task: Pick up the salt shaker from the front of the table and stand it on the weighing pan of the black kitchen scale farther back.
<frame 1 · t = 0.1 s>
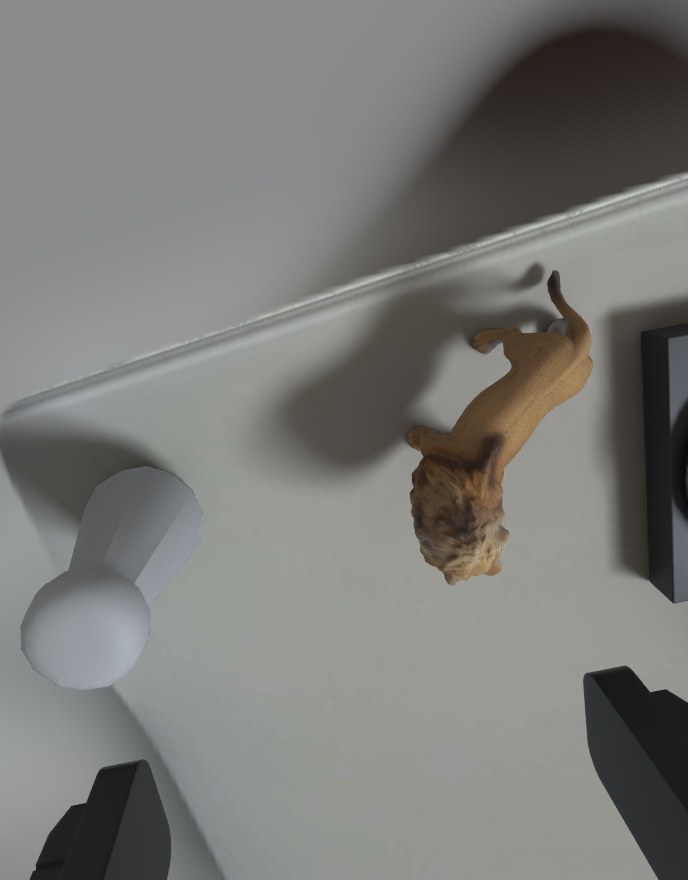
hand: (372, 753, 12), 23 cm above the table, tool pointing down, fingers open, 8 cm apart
lion figurine: (477, 407, 34), on the table
salt shaker: (155, 503, 34), on the table
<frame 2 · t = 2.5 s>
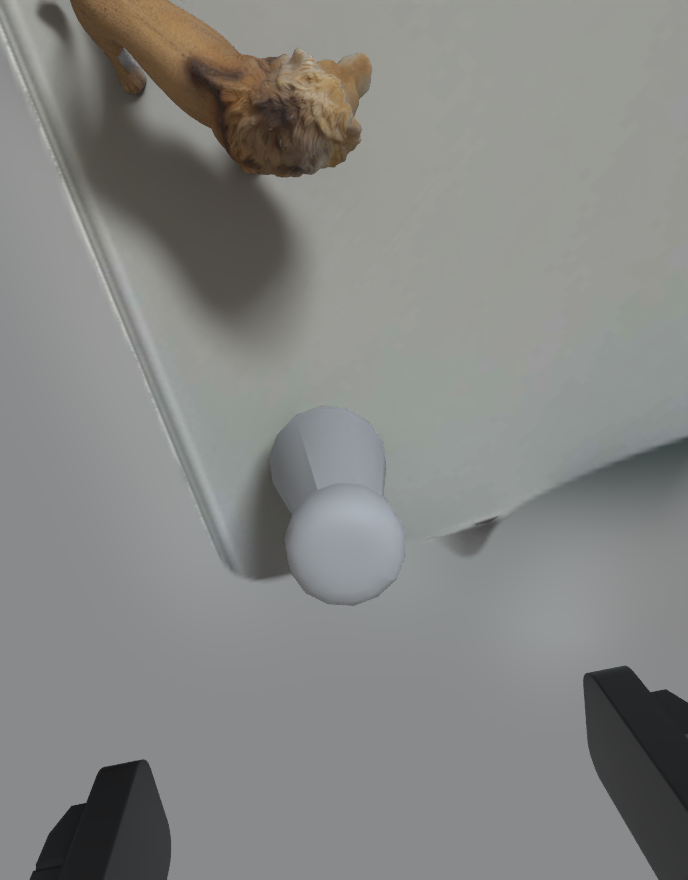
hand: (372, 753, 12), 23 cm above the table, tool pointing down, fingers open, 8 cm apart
lion figurine: (215, 84, 29), on the table
salt shaker: (325, 448, 34), on the table
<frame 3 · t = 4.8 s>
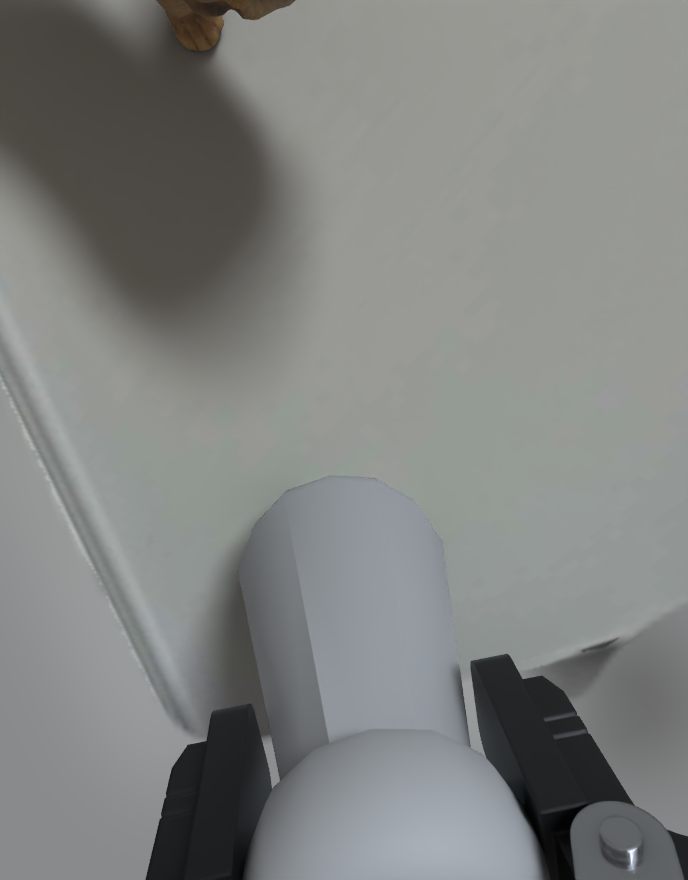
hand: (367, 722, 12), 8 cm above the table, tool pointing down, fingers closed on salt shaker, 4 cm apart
salt shaker: (337, 536, 20), on the table, touching gripper
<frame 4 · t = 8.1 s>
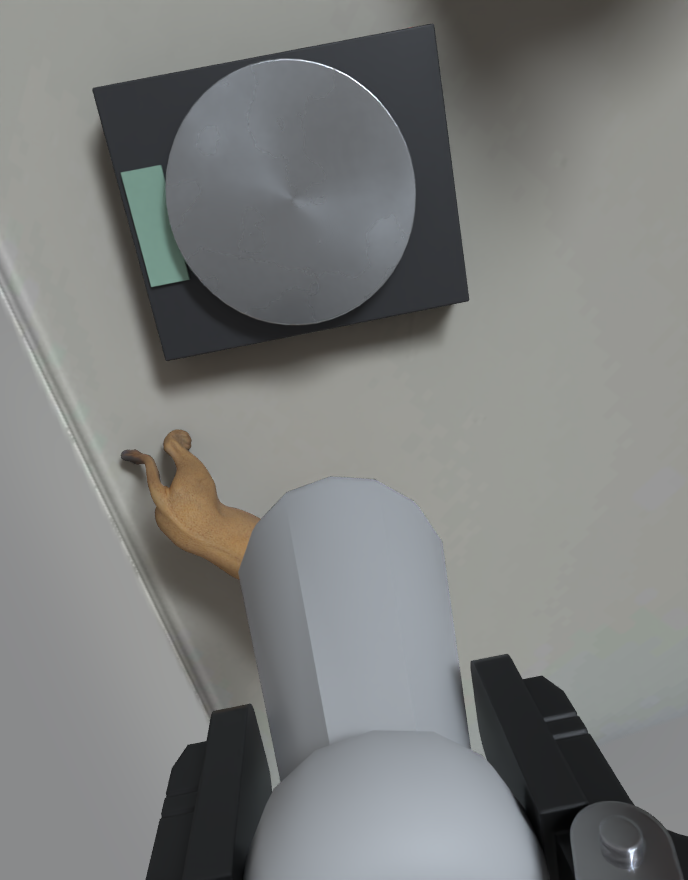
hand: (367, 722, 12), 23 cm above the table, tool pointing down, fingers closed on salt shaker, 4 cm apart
lion figurine: (260, 501, 36), on the table
salt shaker: (338, 537, 20), point 15 cm above the table, touching gripper
scale pan: (292, 199, 28), point 3 cm above the table, slide at 0.0 cm
scale: (292, 205, 32), on the table
when the fingers open (12 cm above the table, at t = 11.9 s): salt shaker stays where it is, resting on scale pan.
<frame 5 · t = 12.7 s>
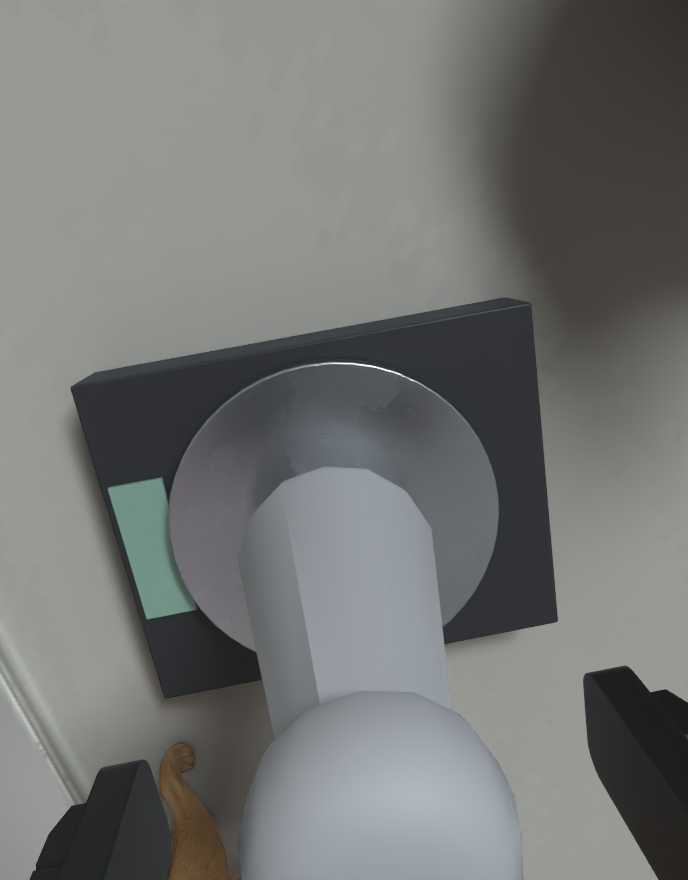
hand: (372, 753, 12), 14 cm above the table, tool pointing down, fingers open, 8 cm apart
lion figurine: (280, 813, 29), on the table
salt shaker: (332, 525, 21), point 3 cm above the table, touching scale pan
scale pan: (336, 521, 22), point 3 cm above the table, slide at -0.2 cm, touching salt shaker, scale
scale: (331, 489, 24), on the table
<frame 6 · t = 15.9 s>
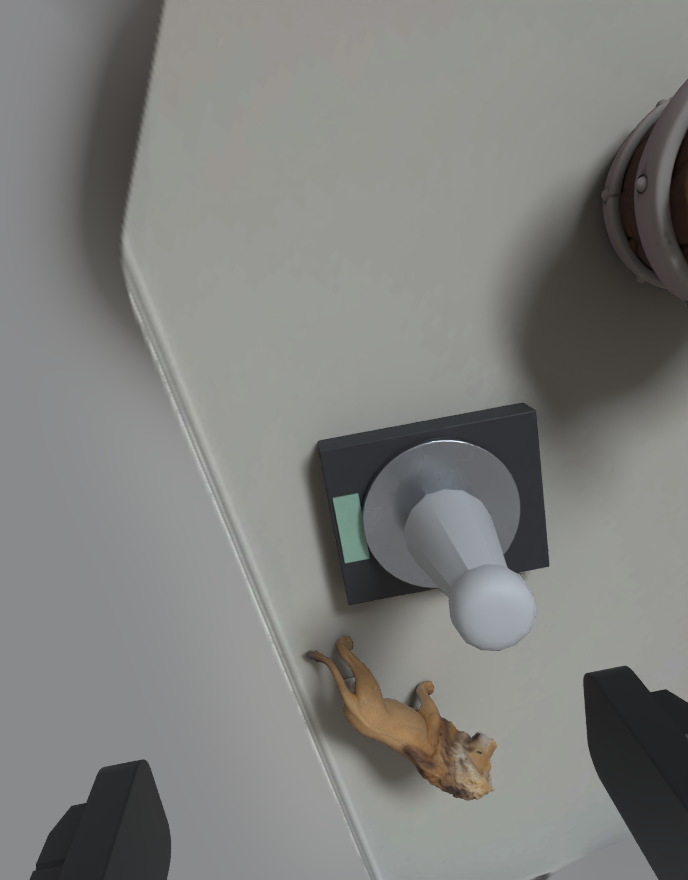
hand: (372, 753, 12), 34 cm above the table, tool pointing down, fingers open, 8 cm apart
lion figurine: (394, 678, 52), on the table
flowerpot: (674, 198, 43), on the table
salt shaker: (440, 516, 44), point 3 cm above the table, touching scale pan
scale pan: (441, 514, 44), point 3 cm above the table, slide at -0.2 cm, touching salt shaker, scale
scale: (431, 498, 47), on the table
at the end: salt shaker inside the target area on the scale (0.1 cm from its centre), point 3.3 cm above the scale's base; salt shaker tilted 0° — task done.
